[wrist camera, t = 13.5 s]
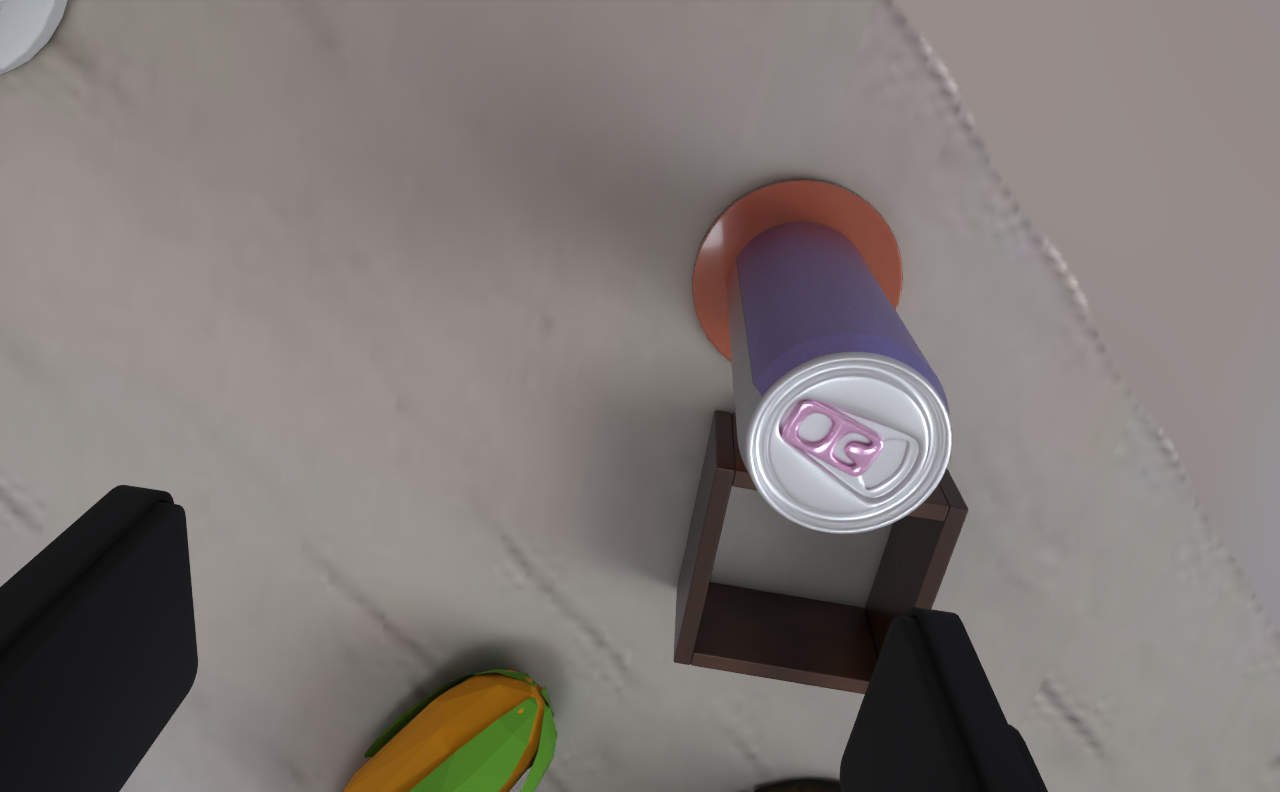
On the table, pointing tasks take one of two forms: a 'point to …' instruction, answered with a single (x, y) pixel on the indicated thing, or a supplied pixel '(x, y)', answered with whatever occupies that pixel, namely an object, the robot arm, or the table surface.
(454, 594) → the table surface
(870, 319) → the beverage can
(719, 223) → the coaster
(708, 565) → the caddy
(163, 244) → the table surface
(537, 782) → the corn
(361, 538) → the table surface
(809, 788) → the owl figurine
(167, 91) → the table surface
